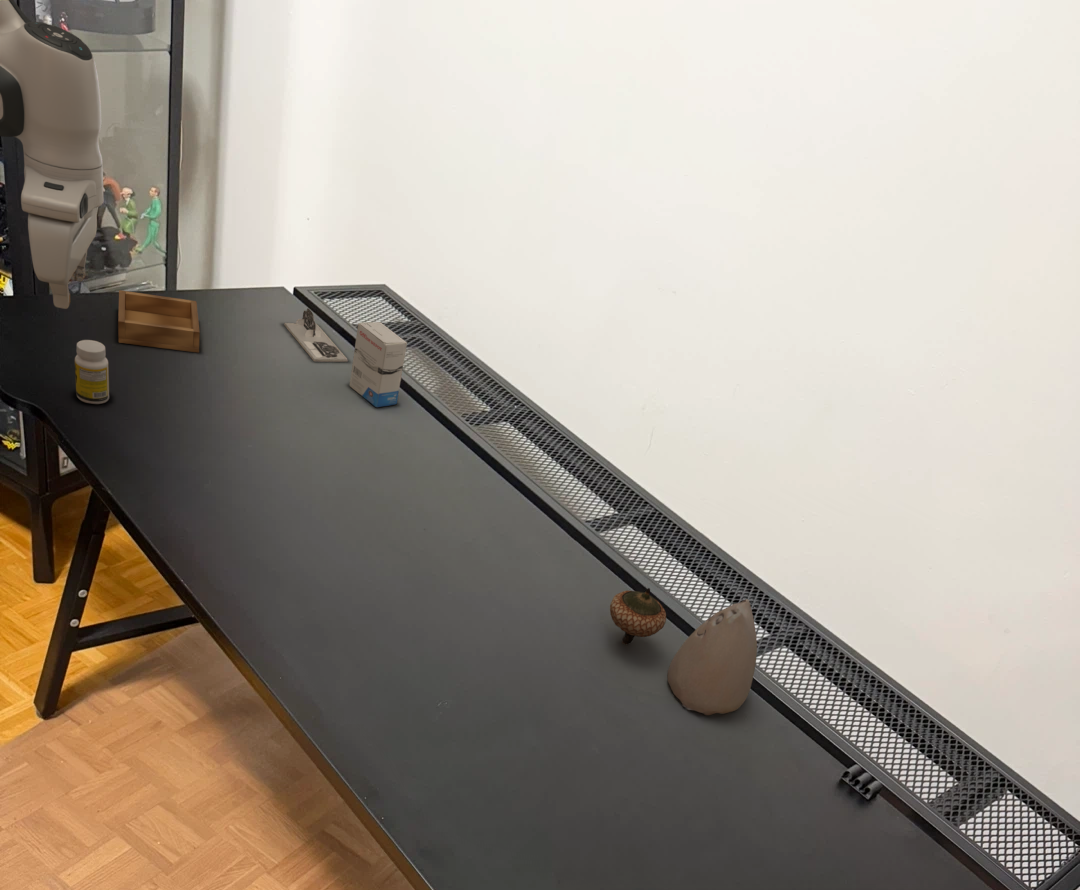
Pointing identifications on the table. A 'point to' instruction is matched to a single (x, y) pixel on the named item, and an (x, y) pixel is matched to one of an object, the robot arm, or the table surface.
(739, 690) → the sculpture
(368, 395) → the ink box
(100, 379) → the supplement bottle
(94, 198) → the robot arm
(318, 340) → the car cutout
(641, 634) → the acorn
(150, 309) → the box
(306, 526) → the table surface
